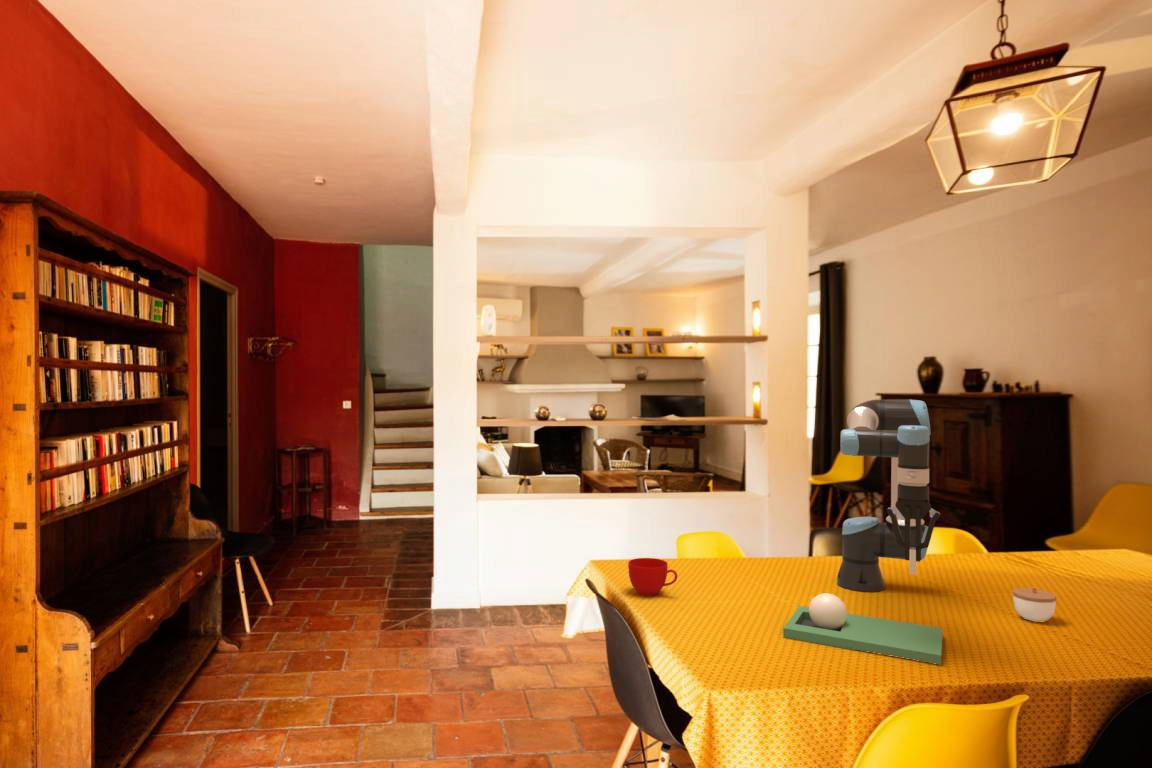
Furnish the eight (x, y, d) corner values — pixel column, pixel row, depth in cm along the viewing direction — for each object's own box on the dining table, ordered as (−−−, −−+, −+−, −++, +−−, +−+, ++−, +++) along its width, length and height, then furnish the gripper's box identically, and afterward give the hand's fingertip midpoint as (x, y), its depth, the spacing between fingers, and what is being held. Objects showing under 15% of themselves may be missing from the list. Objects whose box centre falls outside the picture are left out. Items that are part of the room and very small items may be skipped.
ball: (825, 597, 200) (839, 632, 194) (796, 602, 196) (810, 637, 191) (844, 586, 192) (860, 621, 187) (815, 590, 189) (830, 627, 183)
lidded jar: (1004, 613, 207) (1004, 582, 207) (1037, 613, 208) (1037, 582, 208) (1030, 626, 196) (1030, 593, 196) (1065, 625, 197) (1065, 592, 197)
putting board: (942, 637, 187) (942, 628, 187) (941, 665, 168) (941, 655, 168) (799, 614, 205) (799, 605, 205) (783, 637, 186) (783, 628, 186)
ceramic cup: (668, 603, 215) (668, 571, 215) (621, 594, 224) (621, 564, 224) (684, 593, 226) (685, 562, 226) (639, 585, 235) (639, 556, 235)
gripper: (884, 483, 181) (884, 573, 181) (940, 487, 174) (940, 580, 174) (887, 480, 187) (887, 566, 187) (941, 484, 181) (940, 573, 181)
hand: (912, 572), depth 181 cm, fingers closed
